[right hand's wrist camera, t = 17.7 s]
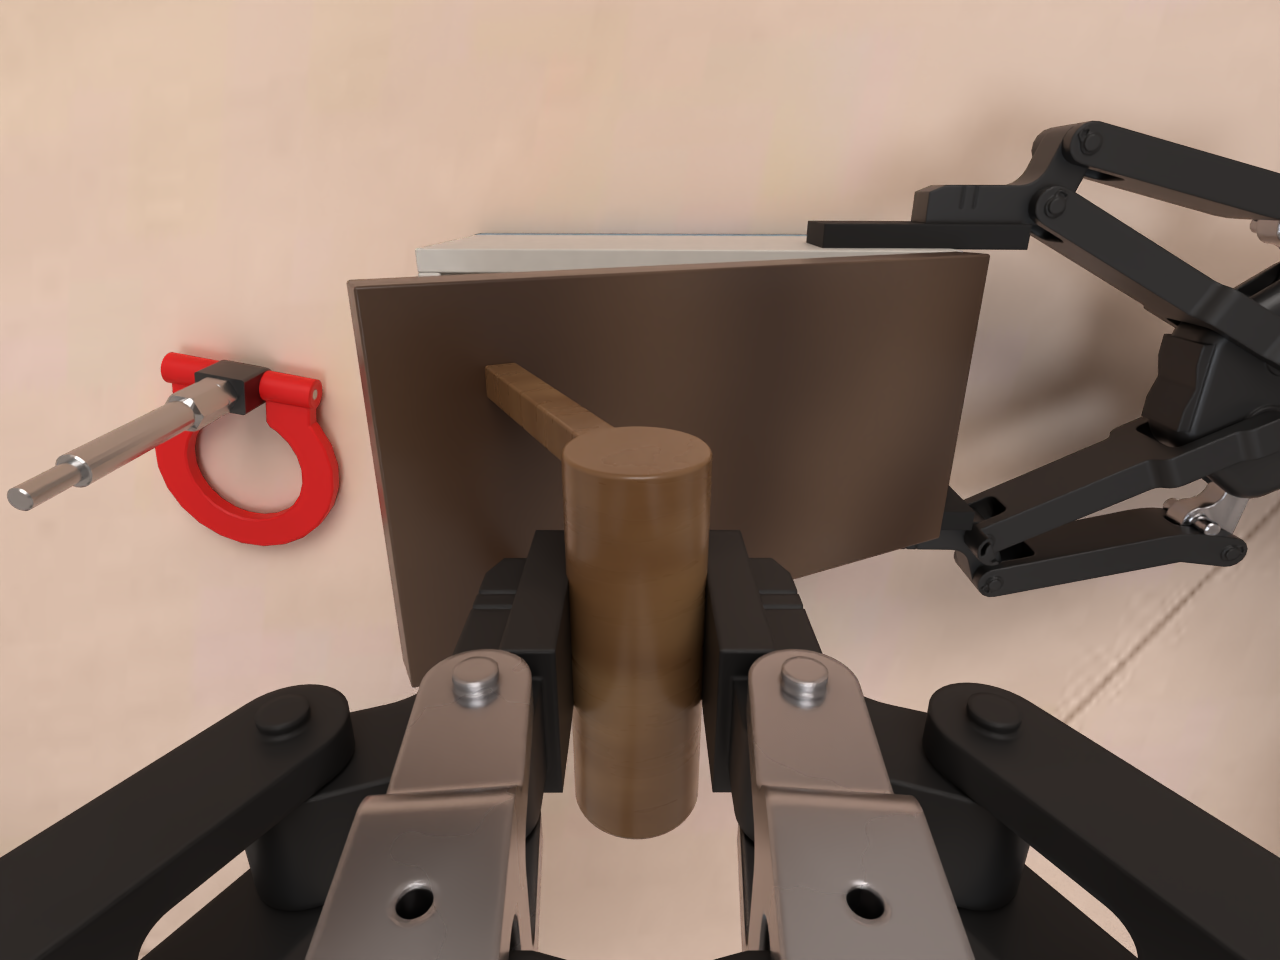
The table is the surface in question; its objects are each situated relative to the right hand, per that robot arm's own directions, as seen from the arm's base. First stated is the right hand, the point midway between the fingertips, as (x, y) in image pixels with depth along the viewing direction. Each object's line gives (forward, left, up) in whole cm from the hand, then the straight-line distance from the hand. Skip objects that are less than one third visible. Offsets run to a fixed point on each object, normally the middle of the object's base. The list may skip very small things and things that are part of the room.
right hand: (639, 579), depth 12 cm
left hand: (+5, 0, -15) cm, 16 cm away
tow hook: (-19, -7, -21) cm, 29 cm away
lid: (+2, 0, -8) cm, 8 cm away
